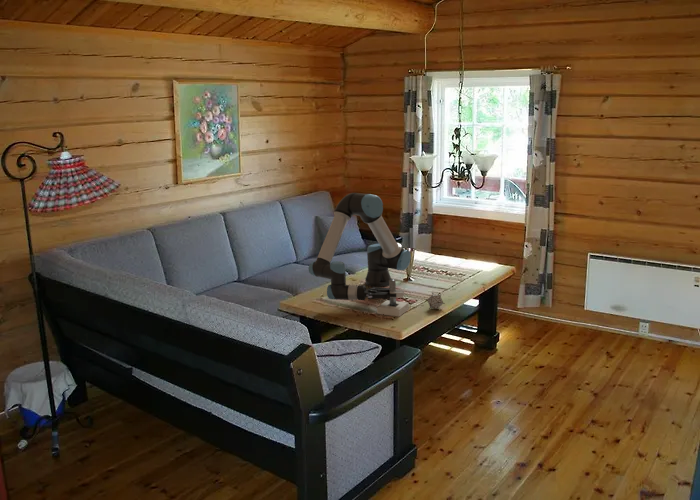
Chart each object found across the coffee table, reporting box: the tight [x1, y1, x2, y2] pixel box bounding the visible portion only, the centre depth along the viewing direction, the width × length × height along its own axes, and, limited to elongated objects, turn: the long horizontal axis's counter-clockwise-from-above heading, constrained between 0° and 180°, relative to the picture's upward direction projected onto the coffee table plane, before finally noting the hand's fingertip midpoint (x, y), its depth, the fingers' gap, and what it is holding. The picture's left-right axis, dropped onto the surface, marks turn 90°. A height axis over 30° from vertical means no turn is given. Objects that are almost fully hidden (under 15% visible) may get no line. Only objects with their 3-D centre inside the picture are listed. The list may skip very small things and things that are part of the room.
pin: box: [388, 278, 397, 307], centre depth 341 cm, size 3×3×15 cm
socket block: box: [376, 299, 410, 317], centre depth 343 cm, size 12×12×4 cm
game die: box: [425, 292, 445, 311], centre depth 343 cm, size 9×8×10 cm
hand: (403, 293), depth 340 cm, fingers closed on pin, 3 cm apart
